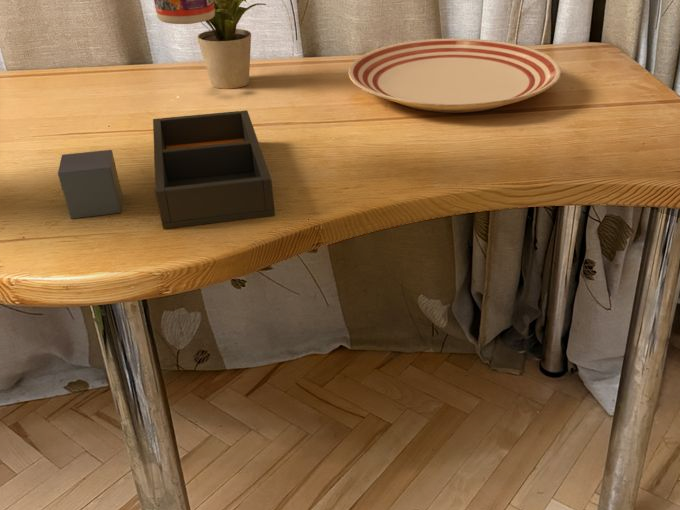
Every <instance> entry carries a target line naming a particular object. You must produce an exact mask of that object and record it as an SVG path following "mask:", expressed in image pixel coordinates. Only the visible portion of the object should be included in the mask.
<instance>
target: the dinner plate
mask: <svg viewBox="0 0 680 510" xmlns="http://www.w3.org/2000/svg"><path fill="white" fill-rule="evenodd" d="M561 75H562V70H561V67H560V64H559V63H558V62H557V61H556V60H555V59H554V58H553V57H551V56H550V55H548V54H546V53H544V52H542V51H540V50H537V49H535V48H532V47H530V46H529V47H528V46H524V45H521V44H516V43H513V42H512V43H511V42H505V41H498V40H490V39H478V38H430V39H429V38H428V39H418V40H412V41H404V42H400V43H394V44H390V45H385V46H381V47H379V48H376V49H373V50H370V51H369V52H366V53H364V54H362V55H361V56H359V57H357V58H356V59H355V60H354V61H353V62H352V63H351V64H350V66H349V68H348V77H349V79H350V80H351V82H352V83H353V85H355V86H356V87H358V88H359V89H361V90H363V91H364V92H366V93H368V94H369V93H370V94H372V95H374V96H377V97H380V98H382V99H385V100H387V101H391V102H394V103H397V104H399V105H401V106H404V107H409V108H411V109H416V110H421V111H427V112H438V113H450V114H451V113H456V114H457V113H474V112H482V111H489V110H493V109H498V108H501V107H504V106H507V105H511V104H515V103H518V102H522V101H525V100H527V99H531V98H532V97H535V96H538V95H540V94H541V93H544V92H545V91H547V90H548V89H550V88H551V87H553V86H554V85H556V84H557V82H558V81H559V80H560V79H561Z"/></svg>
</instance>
